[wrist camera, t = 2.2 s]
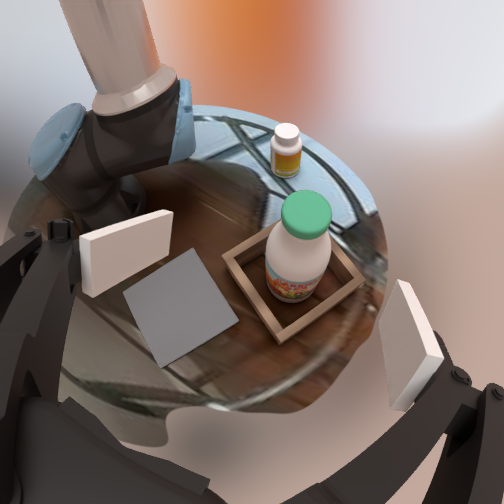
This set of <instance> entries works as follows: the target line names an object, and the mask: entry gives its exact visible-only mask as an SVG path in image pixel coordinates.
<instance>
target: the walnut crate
mask: <svg viewBox="0 0 504 504" xmlns="http://www.w3.org/2000/svg"><path fill="white" fill-rule="evenodd" d="M280 221H281V219H280V220H279V221H277V222H275V223H274V224H272V225H270V226H269V227H267V228H265V229H264V230H262V231H260V232H259V233H257V234H256V235H254V236H252V237H251V238H249V239H247V240H246V241H244V242H242V243H241V244H239V245H238V246H236V247H234V248H233V249H231V250H229V251H228V252H226V253H225V254H223V255H222V258H223V260H224V263H225V265H226V268H227V269H228V271H229V272H230V274H231V275H232V277H233V278H234V280H235V281H236V283H237V284H238V286H239V287H240V289H241V290H242V292H243V293H244V295H245V296H246V298H247V299H248V301H249V302H250V304H251V305H252V306H253V308H254V309H255V311H256V312H257V314H258V315H259V317H260V318H261V320H262V321H263V323H264V324H265V325H266V327H267V328H268V330H269V331H270V333H271V334H272V336H273V337H274V338H275V340H276V341H277V343H278V344H279V345H281V344H282V343H284V342H285V341H287V340H288V339H290V338H291V337H293V336H294V335H295V334H297V333H298V332H300V331H301V330H303V329H304V328H305V327H307V326H308V325H310V324H311V323H312V322H314V321H315V320H317V319H318V318H319V317H321V316H322V315H323V314H325V313H326V312H327V311H329V310H330V309H331V308H333V307H334V306H335V305H337V304H338V303H339V302H341V301H342V300H343V299H345V298H346V297H347V296H348V295H350V294H351V293H352V292H354V291H355V290H356V289H357V288H358V287H359V286H360V285H361V284H362V283H363V282H364V281H365V279H364V277H363V276H362V275H361V273H360V272H359V271H358V270H357V268H356V267H355V266H354V265H353V263H352V262H351V261H350V260H349V258H348V257H347V256H346V255H345V253H344V252H343V251H342V250H341V248H340V247H339V246H338V245H337V244H336V242H335V241H334V240H333V239H332V238H331V236H330V235H329V237H330V241H331V255H330V259H329V262H328V267H329V268H330V269H331V270H332V272H333V273H334V274H335V275H336V277H337V278H338V279H339V281H340V282H341V283H342V285H343V287H342V288H341V289H339V290H338V291H337V292H335V293H334V294H333V295H331V296H330V297H329V298H327V299H326V300H325V301H323V302H322V303H321V304H319V305H318V306H316V307H315V308H314V309H312V310H311V311H309V312H308V313H307V314H305V315H304V316H302V317H301V318H299V319H298V320H297V321H295V322H294V323H292V324H291V325H289V326H288V327H286V328H285V329H284V330H283V328H282V327H281V325H280V324H279V323H278V321H277V320H276V318H275V317H274V316H273V314H272V313H271V311H270V310H269V308H268V307H267V305H266V304H265V303H264V301H263V300H262V298H261V297H260V295H259V294H258V293H257V291H256V290H255V288H254V287H253V285H252V284H251V282H250V281H249V280H248V278H247V277H246V275H245V274H244V272H243V271H242V269H241V267H242V266H244V265H245V264H247V263H249V262H250V261H252V260H253V259H255V258H256V257H258V256H260V255H261V254H263V253H264V252H266V245H267V240H268V237H269V235H270V233H271V231H272V229H273V228H274V227H275V225H276V224H277V223H278V222H280Z"/></svg>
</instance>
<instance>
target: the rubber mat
mask: <svg viewBox="0 0 504 504" xmlns="http://www.w3.org/2000/svg"><path fill="white" fill-rule="evenodd" d="M123 294H124V296H125V299H126V301H127V303H128V305H129V308H130V310H131V312H132V314H133V316H134V318H135V320H136V323H137V325H138V327H139V329H140V331H141V333H142V335H143V337H144V339H145V341H146V343H147V345H148V347H149V349H150V351H151V352H152V354H153V356H154V358H155V360H156V362H157V364H158V365H159V367H160V368H163V367H165V366H167V365H168V364H170V363H172V362H174V361H175V360H177V359H179V358H180V357H182V356H184V355H186V354H187V353H189V352H191V351H192V350H194V349H196V348H197V347H199V346H201V345H202V344H204V343H205V342H207V341H209V340H210V339H212V338H214V337H215V336H217V335H218V334H220V333H222V332H223V331H225V330H227V329H228V328H230V327H231V326H233V325H234V324H236V323H238V322H239V320H238V318H237V317H236V315H235V314H234V312H233V310H232V309H231V307H230V306H229V304H228V303H227V301H226V300H225V298H224V297H223V295H222V293H221V292H220V290H219V289H218V287H217V286H216V284H215V282H214V281H213V279H212V278H211V276H210V274H209V273H208V271H207V270H206V268H205V266H204V265H203V263H202V261H201V260H200V258H199V257H198V255H197V253H196V252H195V250H194V248H191V249H190V250H188V251H186V252H185V253H183V254H182V255H180V256H178V257H177V258H175V259H174V260H172V261H170V262H169V263H167V264H166V265H164V266H162V267H161V268H159V269H158V270H156V271H155V272H153V273H151V274H150V275H148V276H147V277H145V278H144V279H142V280H141V281H139V282H137V283H136V284H134V285H133V286H131V287H130V288H128V289H127V290H125V291H124V292H123Z"/></svg>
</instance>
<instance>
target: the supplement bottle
mask: <svg viewBox="0 0 504 504" xmlns="http://www.w3.org/2000/svg"><path fill="white" fill-rule="evenodd" d="M301 150H302V140H301V138H300V137H299V129H298V128H297V127H296V126H295V125H293V124H289V123H282V124H279V125H278V126H277V127H276V128H275V135H274V136H273V137H272V139H271V170H272V172H273V173H274V174H275V175H277V176H279V177H282V178H290V177H293V176H295V175H296V174H297V173H298V171H299V168H300V159H301Z"/></svg>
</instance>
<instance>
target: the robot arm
mask: <svg viewBox="0 0 504 504" xmlns="http://www.w3.org/2000/svg"><path fill="white" fill-rule="evenodd" d="M59 1H60V5H61V7H62V10H63V13H64V15H65V18H66V20H67V23H68V26H69V28H70V31H71V33H72V35H73V38H74V40H75V43H76V45H77V48H78V50H79V52H80V55H81V57H82V59H83V61H84V64H85V66H86V68H87V70H88V73H89V75H90V77H91V79H92V81H93V84H94V86H95V88H96V90H97V93H96V96H95V98H94V100H93V103H92V110H90V111H86V108H85V107H84V106H82V105H81V104H80V103H73V104H70V105H68V106H66V107H64V108H62V109H61V110H60V111H58V112H57V113H56V114H54V115H53V116H52V117H51V118H50V119H49V120H48V121H47V122H46V123H45V124H44V126H43V127H42V128H41V129H40V131H39V132H38V133H37V135H36V136H35V138H34V140H33V142H32V144H31V146H30V149H29V152H28V163H29V166H30V167H31V169H32V170H33V171H34V173H35V174H36V175H37V178H38V179H39V180H40V181H41V182H42V183H43V184H44V185H45V186H46V187H47V188H48V189H49V190H50V191H51V192H52V193H53V194H54V195H55V196H56V197H57V198H58V199H59V200H60V201H61V202H63V203H64V204H65V205H66V206H67V207H68V208H69V209H70V210H71V211H72V214H73V216H74V219H75V221H76V223H77V226H78V228H79V230H80V232H81V233H82V234H83V235H81V236H79V238H78V239H75V240H73V221H72V220H70V219H64V218H60V219H53V220H50V221H49V222H47V223H48V241H47V242H46V241H42V238H41V231H40V230H37V229H33V228H30V229H26V230H24V231H22V232H20V233H18V234H17V235H16V236H14V237H13V238H11V239H10V240H8V241H7V242H5V243H4V244H3V245H1V246H0V504H227V503H226V502H225V501H224V500H223V499H222V498H220V497H219V496H218V495H217V494H216V493H214V492H213V491H211V490H210V489H208V485H209V482H210V479H208V478H206V477H204V476H201V475H199V474H196V473H194V472H191V471H190V470H187V469H185V468H183V467H181V466H179V465H177V464H175V463H173V462H170V461H168V460H164V459H161V458H157V457H153V456H151V455H147V454H144V453H141V452H138V451H135V450H132V449H129V448H127V447H125V446H123V445H122V444H121V443H120V442H119V441H118V440H117V439H116V438H115V437H114V436H113V435H112V434H111V433H110V432H109V430H108V429H107V428H106V427H105V426H104V425H103V424H102V423H101V421H100V420H99V419H98V418H97V417H96V416H95V415H93V414H92V413H90V412H89V411H88V410H86V409H85V408H84V407H82V406H81V405H80V404H79V403H77V402H76V401H75V400H74V399H72V398H71V397H70V396H69V397H68V398H67V399H66V400H65V401H64V402H63V403H61V402H59V401H58V387H59V378H60V370H61V363H62V357H63V351H64V345H65V339H66V334H67V329H68V324H69V320H70V315H71V311H72V306H73V302H74V298H75V294H76V283H77V282H79V281H81V282H82V292H84V293H85V294H87V295H89V296H90V297H92V298H94V297H95V296H97V295H99V294H100V293H102V292H104V291H106V290H107V289H109V288H111V287H112V286H114V285H116V284H118V283H119V282H121V281H123V280H125V279H126V278H128V277H130V276H132V275H133V274H135V273H137V272H139V271H140V270H142V269H144V268H146V267H148V266H149V265H151V264H153V263H155V262H157V261H158V260H160V259H162V258H164V257H166V256H167V255H169V246H170V237H171V228H172V220H173V212H171V211H167V210H164V209H163V210H159V211H156V212H152V213H149V214H146V215H144V212H145V209H146V205H147V195H146V192H145V189H144V188H143V186H142V184H141V183H140V181H139V180H138V179H137V178H136V177H135V176H133V175H132V174H134V173H138V172H141V171H145V170H149V169H152V168H156V167H160V166H164V165H170V164H172V163H173V162H176V161H179V160H182V159H186V158H188V157H190V156H191V155H192V154H193V153H194V152H195V149H196V140H195V130H194V120H193V109H192V97H191V86H190V81H189V80H188V79H179V80H178V79H177V75H176V72H175V70H174V69H173V68H172V67H170V66H167V65H165V64H162V63H160V60H159V57H158V53H157V50H156V47H155V43H154V39H153V36H152V32H151V29H150V25H149V22H148V18H147V14H146V11H145V7H144V3H143V0H59ZM20 264H22V271H23V273H22V274H21V273H20ZM378 324H379V330H380V336H381V342H382V348H383V355H384V362H385V370H386V378H387V387H388V397H389V408H390V409H393V410H399V411H404V412H406V411H407V410H408V408H409V407H410V406H411V405H412V403H413V402H414V403H415V404H414V405H413V406H412V407H411V408H410V409H409V410H408V411H407V412H406V414H404V415H403V416H402V417H401V418H400V419H399V420H398V421H397V422H396V423H395V424H394V425H393V426H392V427H391V428H390V429H389V430H388V431H387V432H385V433H384V434H383V435H382V436H381V437H380V438H379V439H378V440H377V441H375V442H374V443H373V444H372V445H371V446H370V447H368V448H367V449H366V450H365V451H363V452H362V453H361V454H360V455H358V456H357V457H356V458H355V459H353V460H352V461H351V462H349V463H348V464H347V465H345V466H344V467H343V468H341V469H340V470H338V471H337V472H336V473H334V474H333V475H331V476H330V477H329V478H327V479H326V480H324V481H322V482H321V483H316V484H314V485H312V486H311V487H309V488H307V489H306V490H304V491H302V492H300V493H299V494H297V495H295V496H294V497H292V498H290V499H288V500H286V501H285V502H283V503H281V504H385V503H386V502H387V501H388V500H389V499H390V498H391V497H392V496H393V495H394V494H395V492H397V490H398V489H399V488H400V487H401V486H402V485H403V484H404V483H405V482H406V481H407V480H408V478H409V477H410V476H411V475H412V474H413V473H414V471H415V470H416V469H417V467H418V466H419V465H420V464H421V462H422V461H423V460H424V459H425V458H426V456H427V455H428V454H429V452H430V451H431V450H432V448H433V447H434V445H435V444H436V443H437V441H438V440H439V438H440V437H441V436H442V434H443V433H445V434H447V438H446V441H445V444H444V448H443V451H442V454H441V457H440V460H439V463H438V465H437V468H436V471H435V473H434V476H433V479H432V481H431V484H430V486H429V488H428V491H427V493H426V495H425V498H424V500H423V502H422V504H501V502H502V498H503V493H504V389H503V387H501V386H499V385H497V384H495V383H489V384H488V385H487V386H486V387H485V389H484V390H483V391H480V390H477V389H475V388H473V387H471V385H472V381H471V378H470V376H469V375H468V374H467V373H466V372H465V371H464V370H463V369H461V368H459V367H457V366H454V365H453V363H452V360H451V358H450V355H449V353H448V352H447V349H446V347H445V344H444V342H443V340H442V338H441V337H440V336H439V334H438V333H437V332H436V331H433V330H432V329H431V327H430V324H429V322H428V320H427V318H426V315H425V313H424V311H423V309H422V307H421V305H420V303H419V301H418V299H417V297H416V295H415V293H414V291H413V289H412V287H411V285H410V284H409V283H408V282H404V281H401V280H397V281H396V283H395V286H394V288H393V291H392V293H391V295H390V298H389V300H388V302H387V304H386V307H385V309H384V311H383V314H382V315H381V318H380V320H379V322H378Z"/></svg>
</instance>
